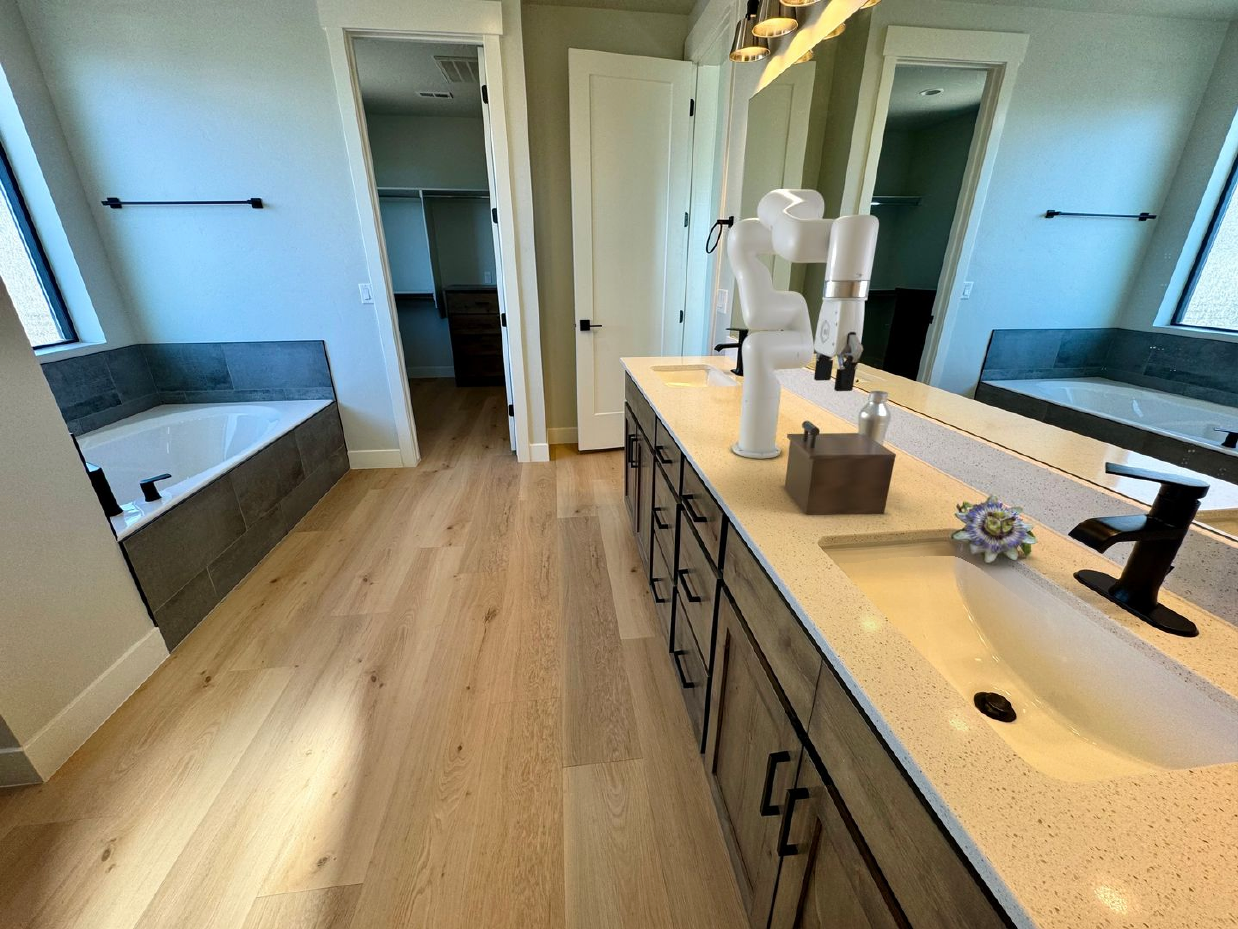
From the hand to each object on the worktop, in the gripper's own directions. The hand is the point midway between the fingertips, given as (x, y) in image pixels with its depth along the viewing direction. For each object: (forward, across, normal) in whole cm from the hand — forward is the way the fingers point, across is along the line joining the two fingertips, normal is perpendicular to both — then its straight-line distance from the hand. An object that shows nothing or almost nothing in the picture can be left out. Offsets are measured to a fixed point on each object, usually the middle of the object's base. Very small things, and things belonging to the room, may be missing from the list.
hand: (832, 385), depth 95 cm
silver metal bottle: (+25, -13, +17) cm, 33 cm away
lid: (+13, 0, +3) cm, 13 cm away
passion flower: (+25, +21, +21) cm, 39 cm away
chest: (+25, 0, +4) cm, 25 cm away
